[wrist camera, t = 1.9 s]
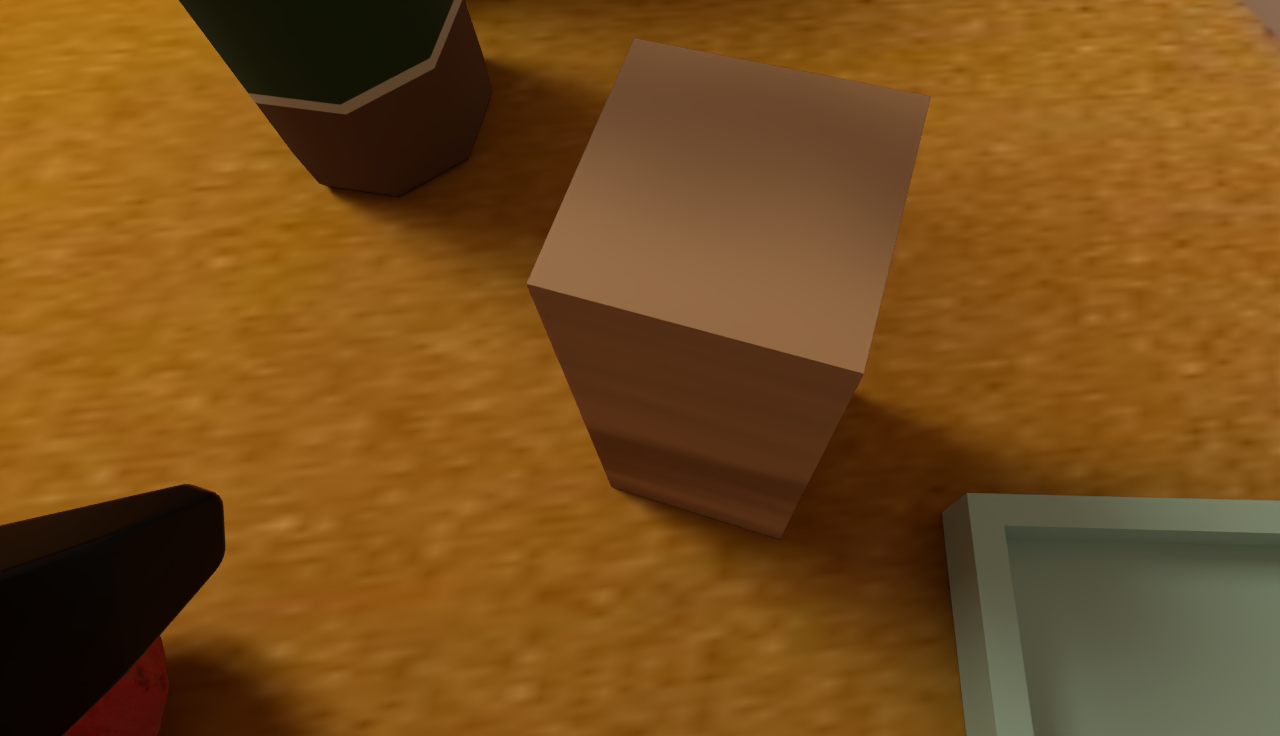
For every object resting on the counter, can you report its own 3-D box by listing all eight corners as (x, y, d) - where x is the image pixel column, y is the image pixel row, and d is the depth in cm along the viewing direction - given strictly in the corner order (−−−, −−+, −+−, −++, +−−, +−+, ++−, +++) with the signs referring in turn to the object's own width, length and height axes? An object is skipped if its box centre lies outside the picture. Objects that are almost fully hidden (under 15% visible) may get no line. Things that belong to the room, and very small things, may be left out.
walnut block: (779, 539, 21) (864, 373, 10) (611, 487, 22) (526, 283, 11) (821, 380, 23) (931, 96, 12) (664, 338, 24) (634, 37, 13)
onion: (275, 651, 21) (50, 627, 14) (136, 868, 19) (-207, 972, 12) (122, 556, 23) (-156, 488, 15) (-21, 750, 21) (-416, 779, 13)
